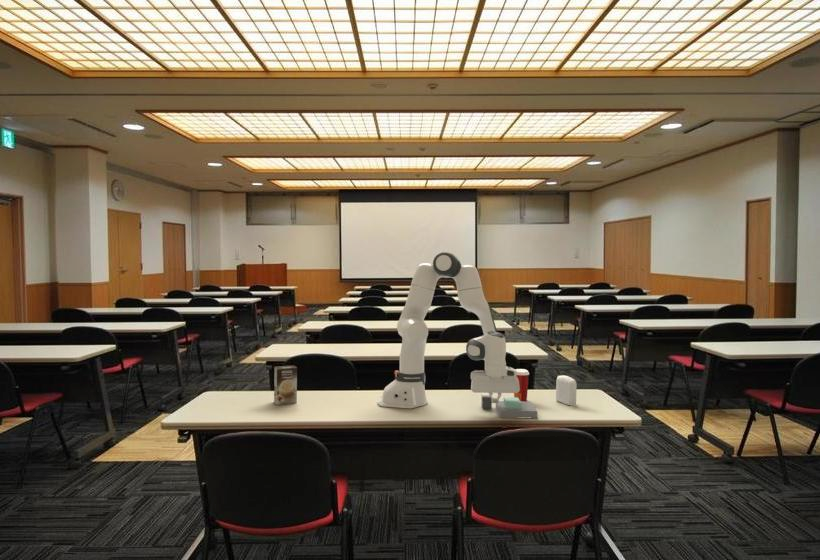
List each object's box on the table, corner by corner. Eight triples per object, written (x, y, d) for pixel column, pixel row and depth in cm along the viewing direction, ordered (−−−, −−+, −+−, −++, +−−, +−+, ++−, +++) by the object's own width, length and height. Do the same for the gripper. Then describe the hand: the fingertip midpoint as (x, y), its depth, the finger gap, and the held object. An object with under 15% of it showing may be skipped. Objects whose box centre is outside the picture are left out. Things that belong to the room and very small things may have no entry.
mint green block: (506, 408, 207) (506, 402, 207) (503, 403, 215) (503, 397, 215) (521, 408, 207) (521, 402, 206) (517, 403, 215) (517, 397, 214)
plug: (482, 409, 216) (482, 395, 216) (481, 406, 220) (481, 393, 220) (491, 409, 216) (491, 395, 216) (490, 406, 220) (490, 393, 220)
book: (577, 405, 222) (578, 378, 222) (570, 406, 220) (570, 379, 220) (561, 399, 231) (562, 373, 231) (554, 400, 230) (554, 374, 229)
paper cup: (527, 398, 233) (528, 368, 232) (530, 403, 225) (530, 372, 225) (510, 398, 234) (511, 368, 233) (512, 402, 226) (513, 372, 226)
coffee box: (276, 405, 220) (276, 369, 219) (273, 401, 226) (273, 366, 225) (297, 402, 224) (297, 367, 223) (294, 399, 230) (294, 364, 229)
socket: (500, 417, 204) (500, 410, 204) (495, 407, 218) (495, 401, 218) (537, 418, 203) (537, 411, 203) (530, 408, 217) (530, 401, 217)
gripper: (471, 371, 208) (471, 404, 208) (520, 372, 207) (520, 405, 207) (469, 368, 214) (469, 400, 214) (517, 369, 213) (517, 400, 214)
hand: (494, 402), depth 211 cm, fingers closed
